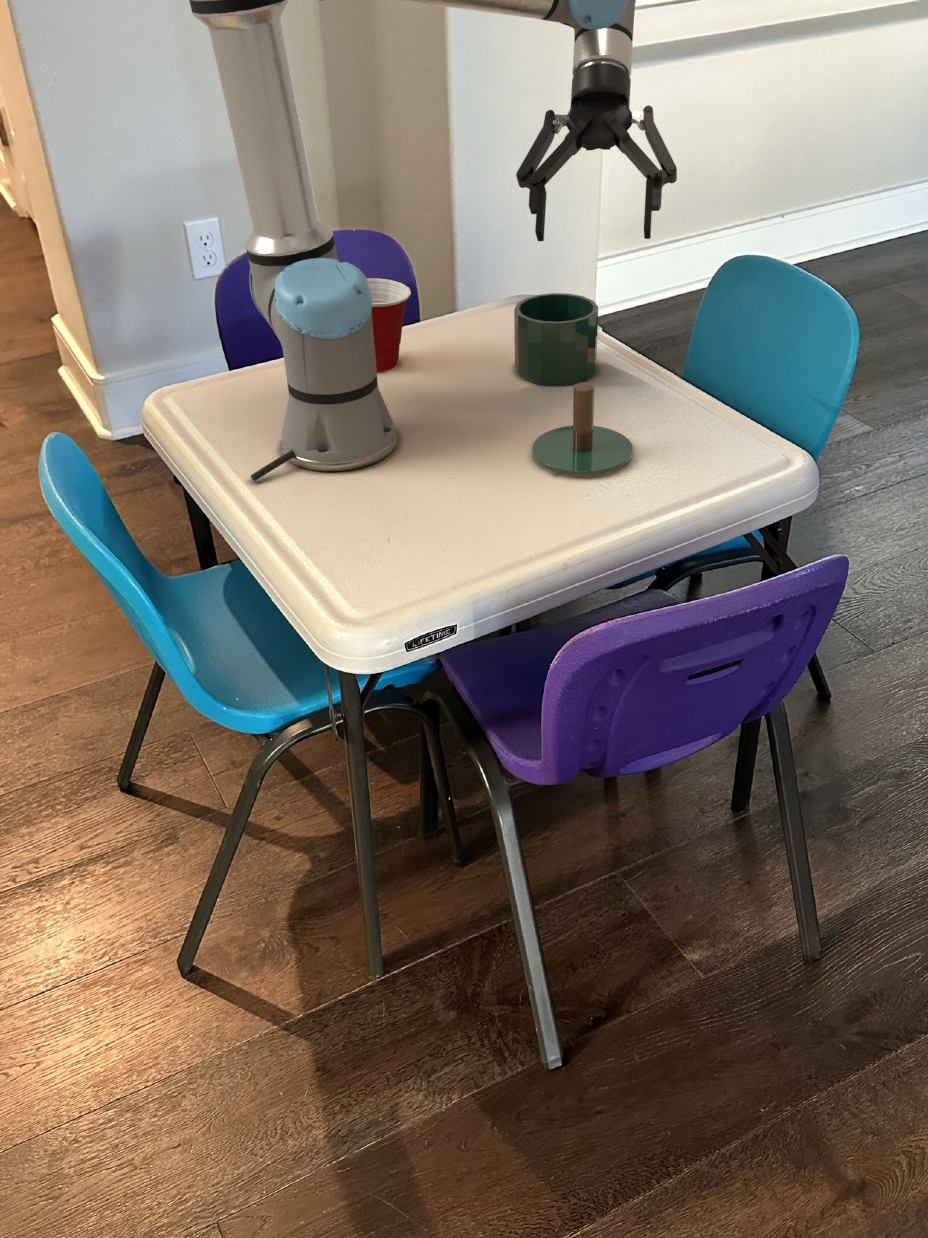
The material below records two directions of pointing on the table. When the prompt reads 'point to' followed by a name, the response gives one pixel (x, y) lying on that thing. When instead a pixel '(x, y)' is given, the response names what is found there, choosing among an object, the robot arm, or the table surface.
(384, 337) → the plastic cup
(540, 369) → the pot
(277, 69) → the robot arm
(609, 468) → the lid
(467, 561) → the table surface
